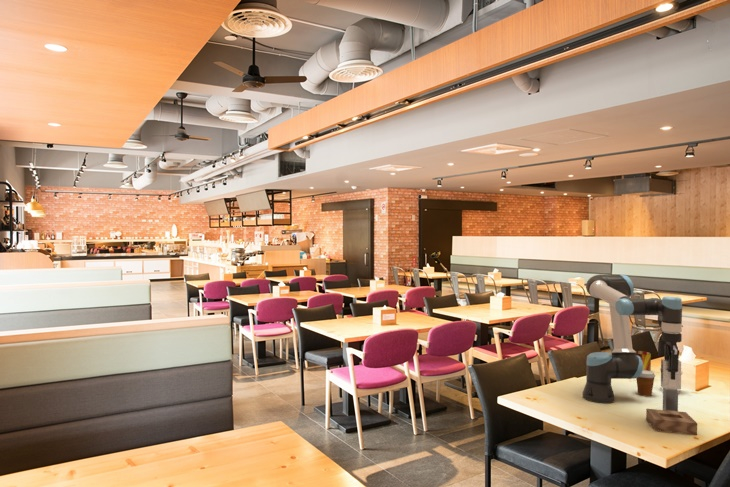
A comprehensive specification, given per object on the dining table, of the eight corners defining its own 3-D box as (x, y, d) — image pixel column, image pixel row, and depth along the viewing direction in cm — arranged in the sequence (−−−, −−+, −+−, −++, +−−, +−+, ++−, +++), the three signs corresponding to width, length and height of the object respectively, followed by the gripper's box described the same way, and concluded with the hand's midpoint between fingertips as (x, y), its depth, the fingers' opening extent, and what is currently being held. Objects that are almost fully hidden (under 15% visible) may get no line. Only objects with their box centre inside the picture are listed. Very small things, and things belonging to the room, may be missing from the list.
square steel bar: (665, 414, 235) (666, 389, 235) (662, 411, 240) (662, 386, 240) (677, 415, 234) (678, 390, 234) (674, 412, 239) (674, 387, 238)
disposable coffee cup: (635, 395, 263) (636, 373, 263) (633, 390, 272) (633, 368, 272) (656, 398, 260) (656, 375, 259) (653, 392, 268) (653, 370, 268)
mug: (629, 373, 307) (630, 354, 307) (634, 369, 317) (634, 350, 317) (647, 376, 301) (647, 356, 300) (651, 371, 311) (652, 352, 311)
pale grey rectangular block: (662, 387, 219) (663, 360, 219) (660, 385, 222) (661, 359, 222) (680, 389, 217) (681, 361, 217) (678, 387, 220) (679, 360, 220)
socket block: (654, 430, 215) (654, 419, 215) (646, 419, 229) (646, 408, 229) (697, 435, 211) (697, 423, 211) (685, 423, 224) (686, 412, 224)
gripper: (687, 336, 211) (686, 391, 211) (675, 329, 226) (674, 381, 226) (667, 335, 213) (666, 389, 213) (656, 328, 228) (656, 379, 228)
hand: (670, 385), depth 220 cm, fingers closed on pale grey rectangular block, 3 cm apart
